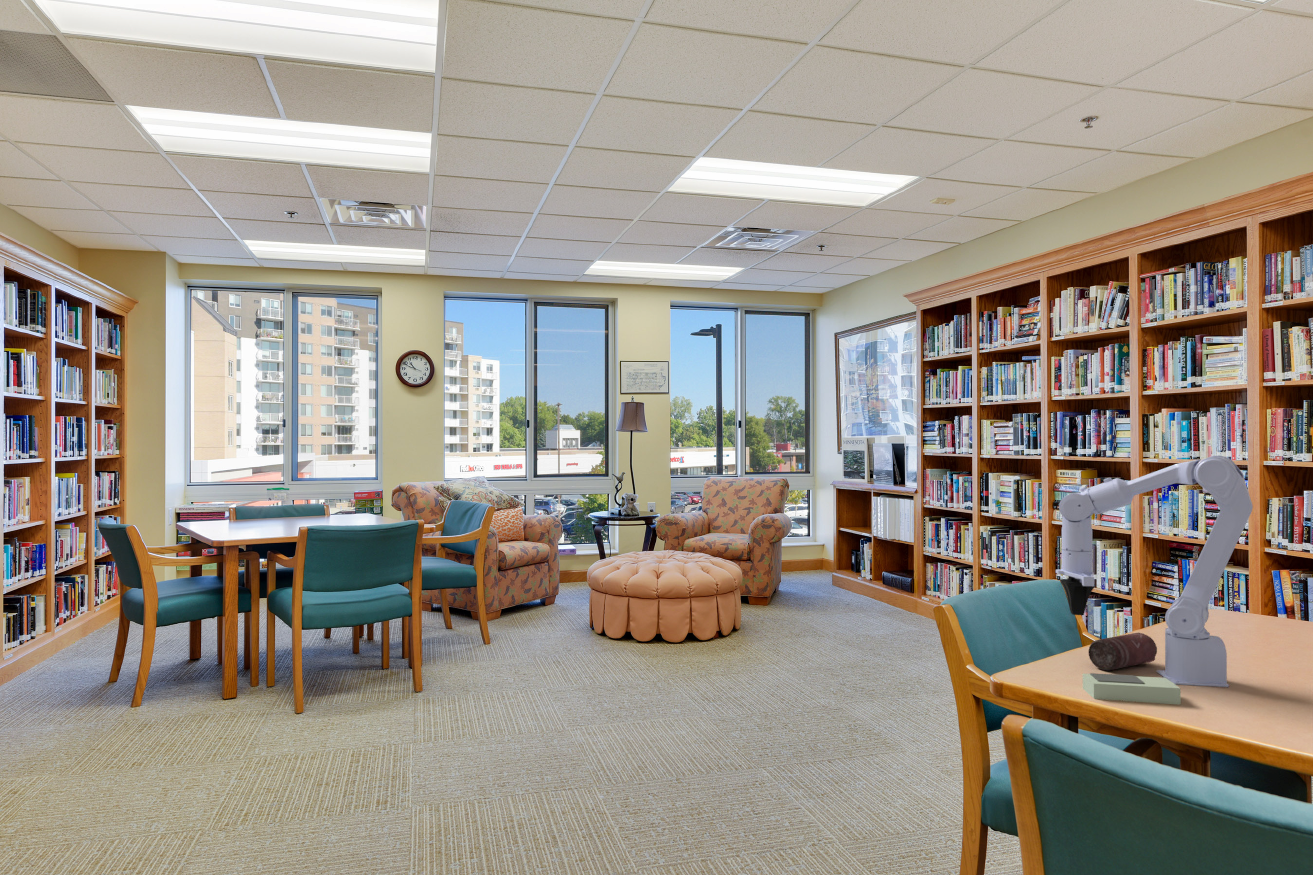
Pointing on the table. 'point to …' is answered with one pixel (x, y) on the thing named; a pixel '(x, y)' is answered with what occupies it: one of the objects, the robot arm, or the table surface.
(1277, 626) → the table surface
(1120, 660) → the can
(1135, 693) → the pale green slab
